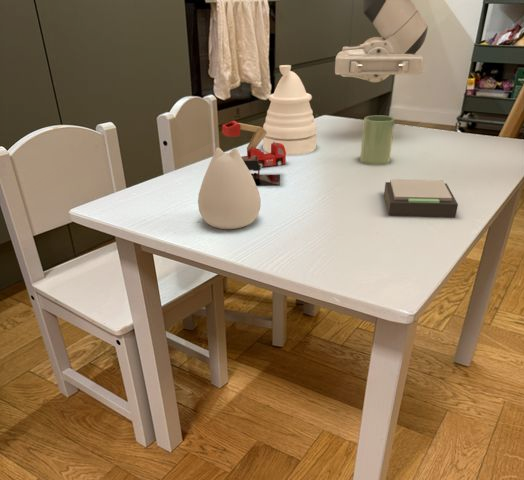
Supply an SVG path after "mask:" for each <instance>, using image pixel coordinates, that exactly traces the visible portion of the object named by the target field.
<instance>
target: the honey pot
mask: <svg viewBox="0 0 524 480" xmlns="http://www.w3.org/2000/svg"><path fill="white" fill-rule="evenodd" d="M278 67H279V68H278V69H279V72H280V74H281V75H282V76H281V77H280V79H279V80H278V83H277V85H276V87H275V89H274V92H273V93H271V94H270V95H268V100H269V102H270V104H269V106H268V109H267V110H266V116H265V121H264V123H263V126H262V128H263V129H264V130H265V131H266V132H267V134H266V135H265V136H264V138H263V139H262V146H263V147H262V149H263V152H266V153H271V143H273V142H275V143H280V144H283V145H284V147H285V150H286V156H299V155H306V154H309V153H312V152H314V151H316V149H317V124H316V122H315V116H314V115H313V114H314V113H313V109H312V107H311V104H310V101H311V100H312V99H313V96H312V94H311V93H309V92H307V91H306V88H305V85H304V83H303V81H302V79H301V78H300V76H299V75H298V74H297V73H295V71H291V68H292V65H290V64H281V65H279V66H278Z"/></svg>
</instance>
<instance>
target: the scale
mask: <svg viewBox="0 0 524 480" xmlns="http://www.w3.org/2000/svg"><path fill="white" fill-rule="evenodd" d="M383 197H384V201H385V205H386V206H385V207H386V211H387V215H388V217H416V218H417V217H419V218H420V217H421V218H448V219H449V218H451V219H453V218H456V217H457V210H458V207H459V204H458V202H457V200H456V198H455V196H454V194H453V192H452V191H451V188H450V187H449V184H448V183H445V181H444V180H443V179H442V180H441V179H394V178H393V179H391V178H390V180H389V181H385V184H384V191H383Z"/></svg>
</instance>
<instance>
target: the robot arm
mask: <svg viewBox="0 0 524 480" xmlns="http://www.w3.org/2000/svg"><path fill="white" fill-rule="evenodd" d="M362 14H363V15H364V17H366V18H367V20H368V21H369V22H370V23H371V24H372V25H373V26H374V28H375V30H376V31H377V32H378V34H379V36H373V37H369V38H368V39H366V40H365V41H364V42H363V43H361V44H356V45H355V44H354V45H347V46H343V47H342V49H341V51H339V52H338V53H337V54H336V56H335V63H334V75H336V76H340V77H342V78H354V79H361V80H363V81H367V82H371V83H379V82H382V81H384V80H386V79H387V78H388V77H390V76H393V75H394V76H395V75H396V76H397V75H400V76H404V75H405V76H406V75H408V76H413V75H414V76H415V75H416V76H417V75H421V74H422V73H423V69H424V68H423V67H424V56H423V55H420V54H417V52H418V51H419V50H420V49H421V48H422V46H423V45H424V43H425V40H426V37H427V34H428V30H429V26H428V25H427V23H426V21H425V19H424V17H423V16H422V14H421V13H420V11H419V10H418V9H417V7H416V6H415V4H414V1H412V0H363V1H362Z"/></svg>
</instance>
